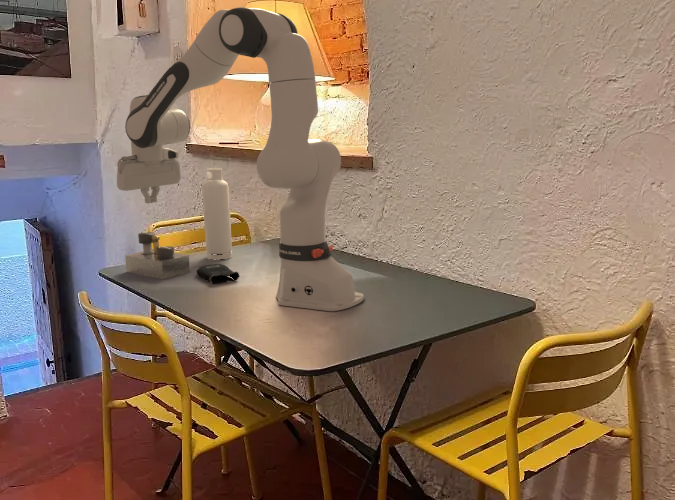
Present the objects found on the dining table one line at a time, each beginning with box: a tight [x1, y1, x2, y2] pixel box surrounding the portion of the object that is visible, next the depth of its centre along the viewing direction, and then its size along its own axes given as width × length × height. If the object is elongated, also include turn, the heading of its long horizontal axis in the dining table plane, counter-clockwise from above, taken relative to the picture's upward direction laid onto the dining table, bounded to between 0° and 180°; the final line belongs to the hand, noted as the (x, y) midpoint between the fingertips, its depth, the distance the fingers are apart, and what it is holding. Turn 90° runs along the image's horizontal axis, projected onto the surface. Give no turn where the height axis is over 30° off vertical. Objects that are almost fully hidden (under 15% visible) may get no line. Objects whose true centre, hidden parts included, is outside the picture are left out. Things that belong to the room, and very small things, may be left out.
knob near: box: [157, 245, 175, 259], centre depth 199 cm, size 5×5×7 cm
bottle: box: [201, 167, 233, 261], centre depth 216 cm, size 8×8×28 cm
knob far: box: [137, 231, 156, 255], centre depth 202 cm, size 5×5×7 cm
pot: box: [152, 235, 160, 255], centre depth 200 cm, size 2×2×5 cm
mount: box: [125, 248, 191, 280], centre depth 201 cm, size 16×10×5 cm, turn 54°
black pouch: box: [196, 263, 240, 285], centre depth 195 cm, size 9×6×15 cm
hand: (151, 202), depth 198 cm, fingers closed
